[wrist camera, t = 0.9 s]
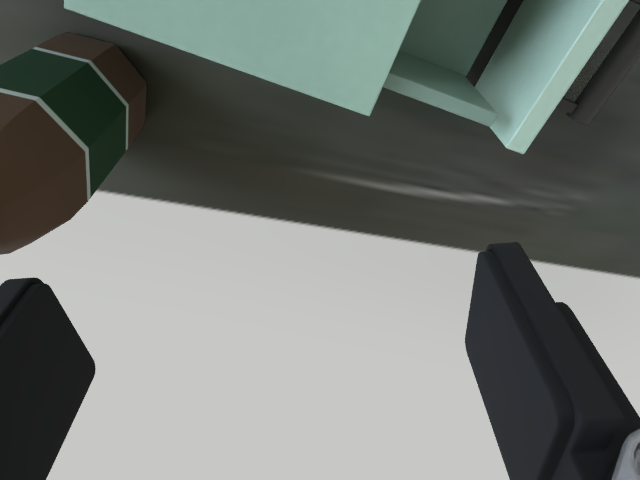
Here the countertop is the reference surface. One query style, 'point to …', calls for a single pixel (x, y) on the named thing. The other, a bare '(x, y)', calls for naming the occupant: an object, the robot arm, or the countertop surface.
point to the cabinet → (278, 39)
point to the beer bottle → (62, 131)
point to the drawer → (513, 61)
